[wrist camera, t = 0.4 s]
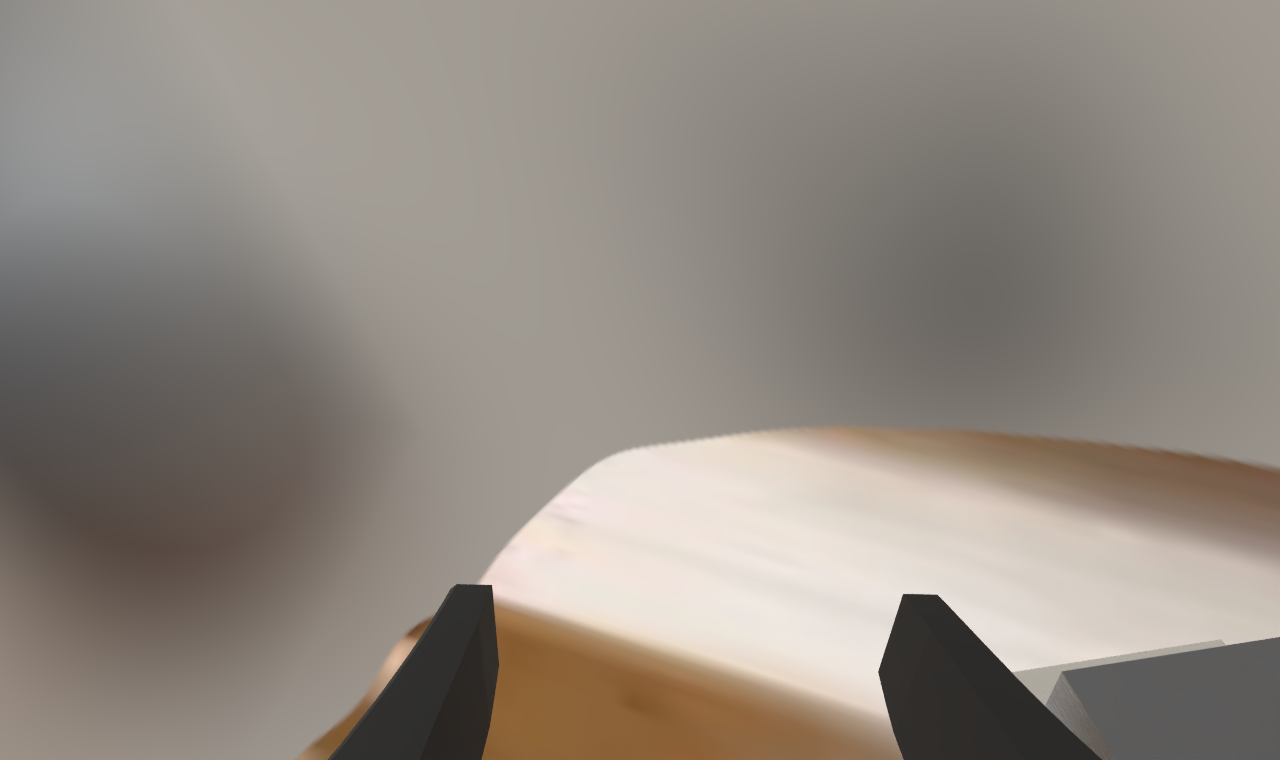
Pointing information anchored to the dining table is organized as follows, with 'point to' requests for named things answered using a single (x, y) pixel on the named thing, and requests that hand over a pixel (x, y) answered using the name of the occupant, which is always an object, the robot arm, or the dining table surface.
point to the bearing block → (1170, 701)
